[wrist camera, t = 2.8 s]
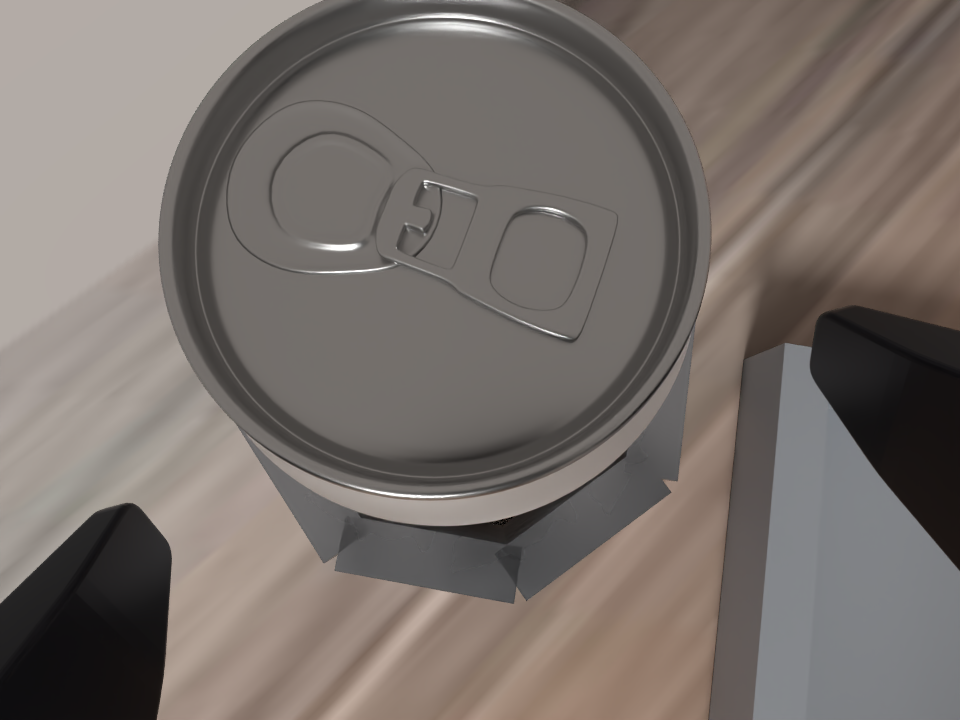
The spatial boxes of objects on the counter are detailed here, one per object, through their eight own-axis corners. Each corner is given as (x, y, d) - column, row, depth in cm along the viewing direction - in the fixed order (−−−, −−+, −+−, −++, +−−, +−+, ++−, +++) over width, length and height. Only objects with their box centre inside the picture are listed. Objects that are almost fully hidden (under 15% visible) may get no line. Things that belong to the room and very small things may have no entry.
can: (407, 250, 18) (264, -129, 7) (605, 316, 18) (826, 37, 6) (330, 446, 17) (0, 412, 6) (538, 522, 17) (650, 656, 5)
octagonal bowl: (620, 591, 17) (660, 631, 13) (262, 526, 17) (194, 544, 13) (662, 245, 18) (710, 185, 14) (337, 194, 19) (298, 123, 15)
